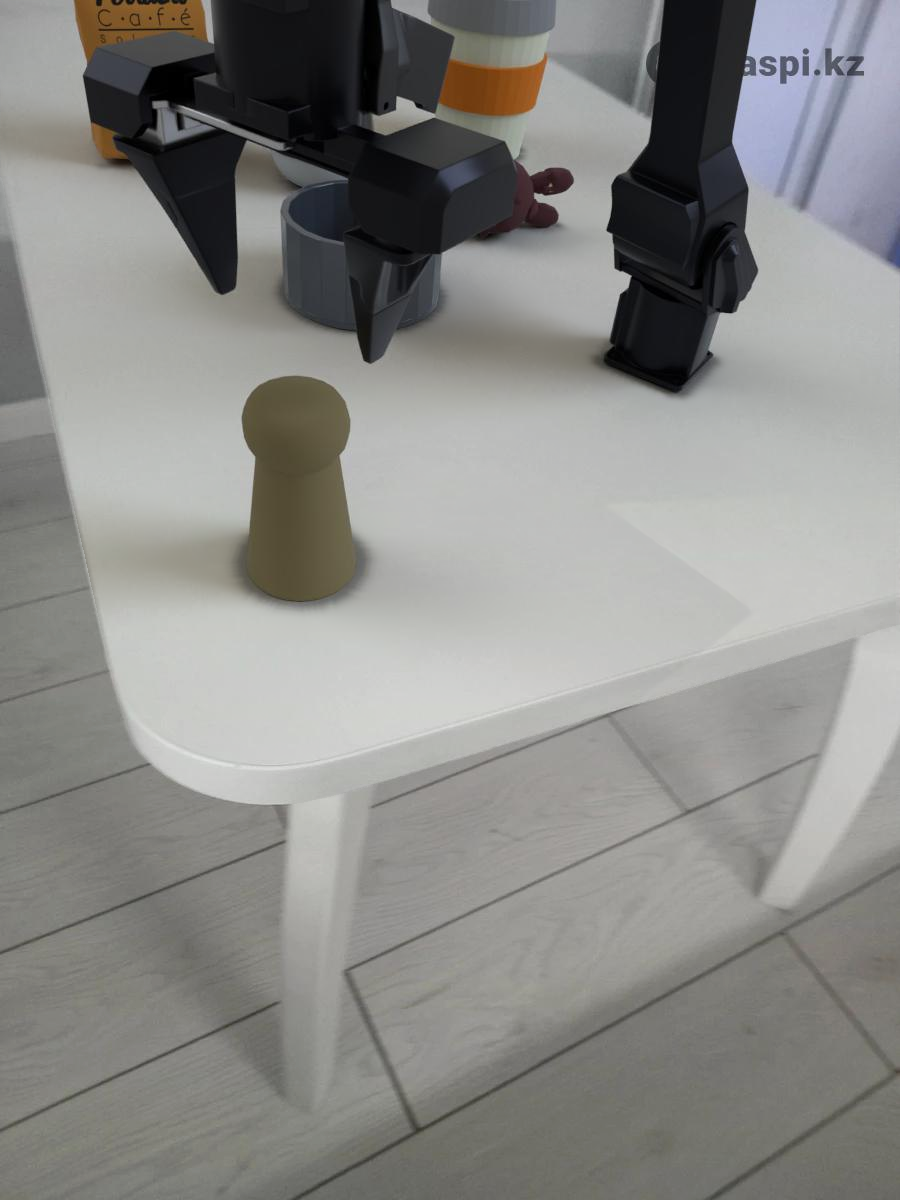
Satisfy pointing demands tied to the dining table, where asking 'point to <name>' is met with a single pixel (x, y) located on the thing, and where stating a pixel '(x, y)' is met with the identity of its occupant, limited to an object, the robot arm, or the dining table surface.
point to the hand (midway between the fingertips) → (297, 324)
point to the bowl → (333, 258)
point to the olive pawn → (298, 489)
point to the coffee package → (132, 34)
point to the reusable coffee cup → (493, 63)
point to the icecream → (525, 203)
